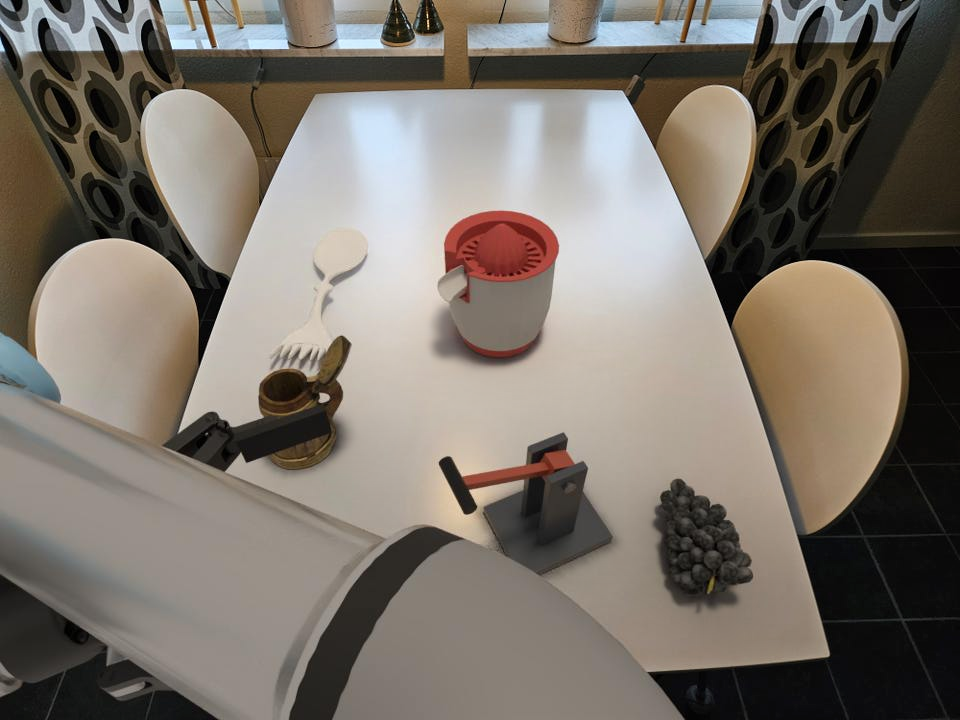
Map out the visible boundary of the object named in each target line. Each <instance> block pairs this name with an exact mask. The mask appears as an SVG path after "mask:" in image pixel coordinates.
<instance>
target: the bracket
mask: <svg viewBox="0 0 960 720" xmlns="http://www.w3.org/2000/svg"><path fill="white" fill-rule="evenodd" d="M568 443H569V437H568V436H567V434H566V433H565V432H564V431H563V432H560V433H558V434H556V435H552V436H551V437H548V438H545V439H543V440H540V441H537V442H535V443H533V444H530V445H528V446H527V449H526V458H525V465H529V464H535V463H540V461H541V459H542V457H543V456H544V454H545V453H549V452H555V451H561V450H566V451H567V448H568ZM588 471H589V467H588V465H587V464H586V462H585V461H584V460H582V461H579V462H576V463H575V464H574V465H572V466H570V467H567V468H565V469H562V470H560V471H558V472H555V473H553V474H550V475H548V476H546V482H545V480H544V479H543V477H542V476H540V477H535V478H529V479H524V480H523V489H522V490H520V491H518V492H516V493H513V494H511V495H508V496H506V497H503V498H501V499H499V500H496V501H494V502H492V503H490V504H486V505H485V506H483V514H484V515H485V518H486V519H487V521H488V524H489V525H490V526H491V529H492V531H493V533H494V534H495V537H496V538H497V540H498V542H499V544H500V547H502V549H503V552H504V553H505V556H507V557H508V558H510V559H512V560H514V561H516V562H517V563H519V564H521V565H523V566H525V567H526V568H528V569H530V570H532V571H533V572H535V573H536V574H538V575H539V576H541V575H543V574H545V573H547V572H549V571H551V570H554V569H556V568H558V567H560V566H562V565H564V564H567V563H569V562H571V561H572V560H575V559H577V558H580V557H582V556H583V555H586V554H588V553H590V552H592V551H594V550H596V549H598V548H601V547H603V546H605V545H607V544H610V543H612V540H613V537H614V536H613V535H612V533H611V531H610V530H609V529H608V526H606V524H605V522H604V521H603V519H602V518H601V516H600V515H599V513H598V512H597V511H596V509H595V508H594V506H593V504H592V503H591V501H590V499H589V498H588V497H587V495H586V494H585V492H584V488H585V483H586V479H587V476H588V475H587V474H588Z"/></svg>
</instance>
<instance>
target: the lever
mask: <svg viewBox="0 0 960 720" xmlns="http://www.w3.org/2000/svg"><path fill="white" fill-rule="evenodd" d="M574 464H576V463H575V462H574V460H573V458H571V456H570V454H569V452H568V451H567V449H566V450H561V451H555V452H549V453H545V454H544V456H543V457H542V459H541V461H540V463H535V464H529V465H526V464H523V465H519V466H513V467H506V468H502V469H495V470H490V471H485V472H480V473H474V474H468V475H462V474H461V473H460V470H459V468H458V467H457V465H456V463H455V460H454V459H453V457H452V456H450V455H447V456H444V457H441V459H440V460H439V461H438V466H439V468H440V470H441V472H442V474H443V476H444V478H445V480H446V481H447V484H448V486H449V488H450V490H451V492H452V494H453V496H454V497H455V499H456V501H457V504H458V506H459V507H460V509H461V511H462V514H463V515H465V516H469V515H471V514H474V513H475V512H476V511H477V510H478V505H477V503H476V500H475V499H474V497H473V495H472V493H471V491H472V490H478V489H482V488H487V487H492V486H493V487H494V486H499V485H503V484H508V483H513V482H518V481H524V479H529V478H535V477H540V476H542V477H543V479H544V480H545V482H546V476H548V475H550V474H553V473H555V472H558V471H560V470H562V469H565V468H567V467H570V466H572V465H574Z"/></svg>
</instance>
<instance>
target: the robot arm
mask: <svg viewBox="0 0 960 720" xmlns="http://www.w3.org/2000/svg"><path fill="white" fill-rule="evenodd" d="M61 400H62V395H61V392H60V387H59V386H58V384H57V383H56V381H55V380H54V378H53V377H52V375H51V374H50V373H49V372H48V371H47V369H46V367H44V366H43V365H42V364H41V363H40V361H38V359H37V358H36V357H34V355H32V354H31V353H30V352H29V351H28V350H27V349H25V347H23V346H22V345H21V344H19V342H17V341H15V340H14V339H13V338H12V337H10V336H6V335H4V334H3V333H2V332H1V331H0V698H2V697H4V696H6V695H8V694H11V693H13V692H15V691H16V690H19V689H20V688H21V687H22V685H23V684H24V682H25V683H28V684H36V683H39V682H41V681H44V680H46V679H48V678H50V677H53V676H55V675H58V674H60V673H63V672H65V671H68V670H71V669H72V668H75V667H77V666H80V665H82V664H85V663H88V661H89V662H90V661H91V660H93V659H94V658H95V657H96V656H97V655H99V654H102V653H106V660H105V661H106V662H105V667H103V668H101V670H100V671H99V672H98V674H97V675H96V685H97V686H98V687H99V688H100V689H102V690H103V692H104V691H105V692H106V693H108V694H109V695H110V696H112V698H114V699H116V700H117V701H120V702H124V701H125V702H126V701H128V700H131V699H135V698H137V697H140V696H145V695H147V694H149V693H153V692H156V691H170V692H171V691H172V692H173V691H174V692H177V693H178V694H179V695H181V696H183V697H184V698H185V699H187V700H189V701H190V702H192V703H193V704H194V705H196V706H198V707H199V708H201V709H202V710H204V711H205V712H207V713H208V714H210V715H211V716H212V717H214V718H215V719H217V720H686V719H685V718H684V717H683V716H682V714H681V713H680V711H679V710H678V709H677V707H676V705H675V704H674V703H673V702H672V700H671V699H670V698H669V697H668V696H667V695H668V694H666V693H665V691H664V690H663V689H662V687H660V685H659V684H658V683H657V682H656V681H655V679H654V678H653V677H652V676H651V675H650V673H648V671H646V669H645V668H644V667H643V666H642V665H641V664H640V662H639V661H638V660H637V659H636V658H635V657H634V656H633V655H632V653H630V651H629V650H628V649H627V648H626V647H625V646H624V645H623V643H621V641H620V640H618V638H616V637H615V636H614V635H613V634H612V633H611V632H609V631H608V629H606V628H605V627H604V625H602V624H601V623H599V621H598V620H597V619H595V617H593V615H591V614H590V613H588V612H587V610H586V609H584V608H583V607H582V606H581V605H579V603H577V602H576V601H574V600H573V598H571V597H570V596H568V595H567V594H566V593H564V592H563V591H562V590H560V589H559V588H558V587H556V586H555V585H554V584H552V583H551V582H549V581H548V580H547V579H545V578H544V577H543V576H541V575H538V574H536V573H535V572H533V571H532V570H530V569H528V568H526V567H525V566H523V565H521V564H519V563H517V562H516V561H514V560H512V559H510V558H508V557H507V555H506V554H503V553H502V552H498V551H496V550H494V549H491V548H489V547H486V546H484V545H481V544H478V543H476V542H474V541H471V540H469V539H466V538H464V537H462V536H460V535H456V534H454V533H451V532H449V531H447V530H443V529H442V528H439V527H436V526H434V525H430V524H425V523H424V524H422V523H421V524H414V525H411V526H408V527H405V528H402V529H401V530H399V531H397V532H395V533H394V534H392V535H390V536H388V537H387V538H385V537H383V536H381V535H379V534H375V533H373V532H372V531H368V530H366V529H364V528H361V527H359V526H356V525H353V524H351V523H349V522H347V521H344V520H342V519H339V518H337V517H336V516H335V517H334V516H332V515H329V514H327V513H325V512H322V511H320V510H317V509H315V508H313V507H310V506H308V505H306V504H303V503H301V502H299V501H296V500H293V499H291V498H289V497H286V496H284V495H281V494H278V493H276V492H274V491H272V490H269V489H267V488H264V487H262V486H259V485H257V484H255V483H252V482H250V481H247V480H245V479H243V478H240V477H238V476H236V475H233V474H230V473H229V472H226V471H228V469H229V468H230V467H231V465H232V464H233V463H234V462H235V461H236V459H237V458H239V456H240V455H242V458H243V460H244V462H245V463H246V464H248V463H251V462H254V461H256V460H259V459H262V458H265V457H267V456H268V457H269V455H271V454H274V453H276V452H279V451H282V450H285V449H288V448H290V447H293V446H296V445H299V444H302V443H304V442H307V441H310V440H313V439H316V438H318V437H321V436H324V435H327V434H330V433H332V430H331V427H330V423H329V420H328V416H327V412H326V409H325V407H324V404H320V405H317V406H314V407H311V408H308V409H305V410H303V411H300V412H297V413H294V414H291V415H288V416H285V417H282V418H279V419H278V417H277V415H270V416H267V417H261V418H258V419H256V420H252V421H249V422H246V423H243V424H241V425H237V426H231V425H230V423H229V421H228V420H227V419H222V418H221V417H220V415H219V414H218V412H216V411H213V410H212V411H208V412H206V413H204V414H203V415H201V416H200V417H198V418H197V419H196V420H194V421H193V422H192V423H190V424H189V425H188V426H186V427H185V428H183V429H182V430H181V431H179V432H178V433H177V434H175V435H174V436H172V437H171V438H170V439H169V440H167V441H165V443H163V444H162V445H161V444H158V443H155V442H153V441H151V440H148V439H146V438H144V437H141V436H140V435H139V436H138V435H136V434H134V433H132V432H129V431H126V430H125V429H122V428H119V427H117V426H115V425H113V424H109V423H107V422H106V421H103V420H100V419H98V418H95V417H93V416H90V415H88V414H85V413H83V412H80V411H78V410H77V409H73V408H72V407H68V406H66V405H65V404H61V403H62V402H61Z"/></svg>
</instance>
